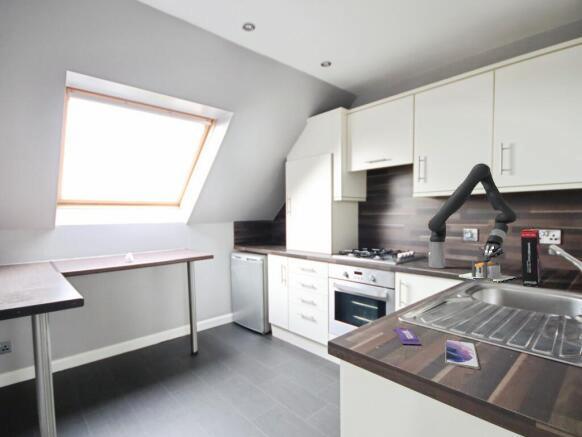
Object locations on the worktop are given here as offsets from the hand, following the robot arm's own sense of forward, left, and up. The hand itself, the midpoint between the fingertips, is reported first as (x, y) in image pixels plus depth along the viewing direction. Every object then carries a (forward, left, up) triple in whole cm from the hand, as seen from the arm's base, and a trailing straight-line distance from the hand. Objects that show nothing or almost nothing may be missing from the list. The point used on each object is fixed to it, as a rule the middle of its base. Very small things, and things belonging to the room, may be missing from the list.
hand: (485, 261), depth 170 cm
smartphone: (+45, -103, -10) cm, 113 cm away
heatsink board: (0, +2, -9) cm, 9 cm away
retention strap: (0, +8, -1) cm, 8 cm away
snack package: (+30, -106, -10) cm, 110 cm away
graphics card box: (+20, +4, -9) cm, 22 cm away
